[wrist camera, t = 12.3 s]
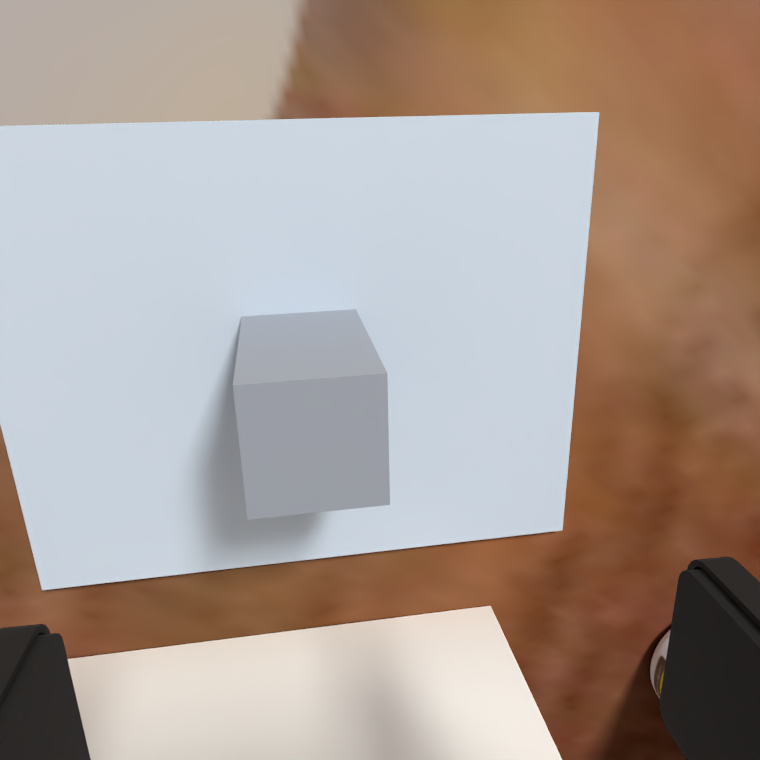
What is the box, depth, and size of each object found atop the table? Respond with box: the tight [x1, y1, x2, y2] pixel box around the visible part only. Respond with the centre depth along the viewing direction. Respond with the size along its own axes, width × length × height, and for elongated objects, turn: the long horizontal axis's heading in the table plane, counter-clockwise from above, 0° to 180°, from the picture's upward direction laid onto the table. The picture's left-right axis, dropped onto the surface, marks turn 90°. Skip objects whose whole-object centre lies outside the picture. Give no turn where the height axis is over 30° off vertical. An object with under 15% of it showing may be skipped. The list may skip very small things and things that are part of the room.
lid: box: [0, 112, 599, 590], centre depth 19 cm, size 19×15×7 cm
